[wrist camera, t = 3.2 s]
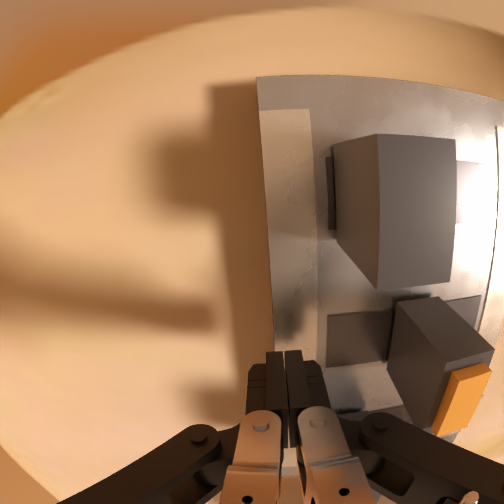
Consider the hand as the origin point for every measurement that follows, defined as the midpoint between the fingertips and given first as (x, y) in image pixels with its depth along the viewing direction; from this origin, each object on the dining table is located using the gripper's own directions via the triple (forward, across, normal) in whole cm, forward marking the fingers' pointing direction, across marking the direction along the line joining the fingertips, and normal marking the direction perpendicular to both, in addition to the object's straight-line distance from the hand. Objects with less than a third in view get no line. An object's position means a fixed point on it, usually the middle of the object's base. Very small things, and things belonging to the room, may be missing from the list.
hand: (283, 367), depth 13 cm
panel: (+4, -7, 0) cm, 8 cm away
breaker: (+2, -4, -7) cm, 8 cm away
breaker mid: (+2, -7, 0) cm, 7 cm away
